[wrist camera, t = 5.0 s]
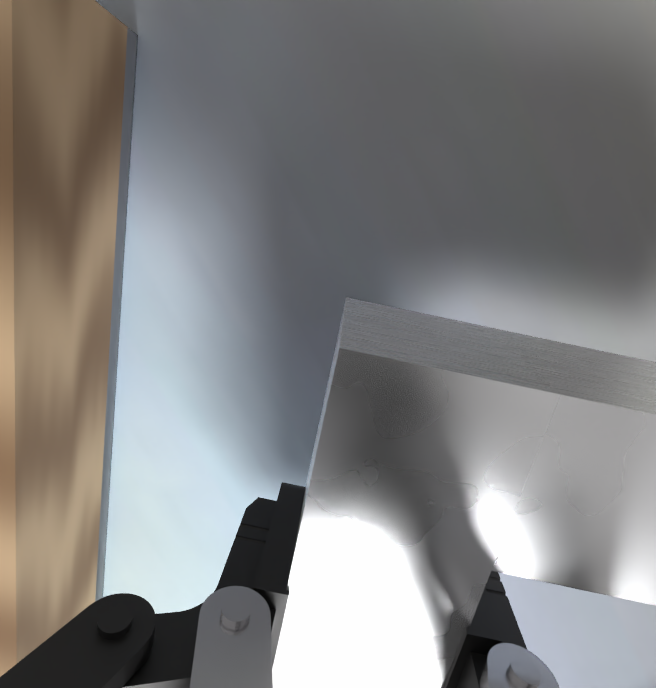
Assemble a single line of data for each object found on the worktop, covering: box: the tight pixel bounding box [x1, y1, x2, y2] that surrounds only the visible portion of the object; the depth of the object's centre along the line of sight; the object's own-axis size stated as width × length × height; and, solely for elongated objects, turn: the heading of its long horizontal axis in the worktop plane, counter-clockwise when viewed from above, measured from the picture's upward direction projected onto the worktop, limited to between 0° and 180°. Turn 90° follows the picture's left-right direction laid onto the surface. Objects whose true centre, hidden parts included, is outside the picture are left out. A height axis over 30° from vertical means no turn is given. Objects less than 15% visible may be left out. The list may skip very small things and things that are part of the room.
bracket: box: [272, 297, 656, 688], centre depth 11 cm, size 12×12×4 cm
